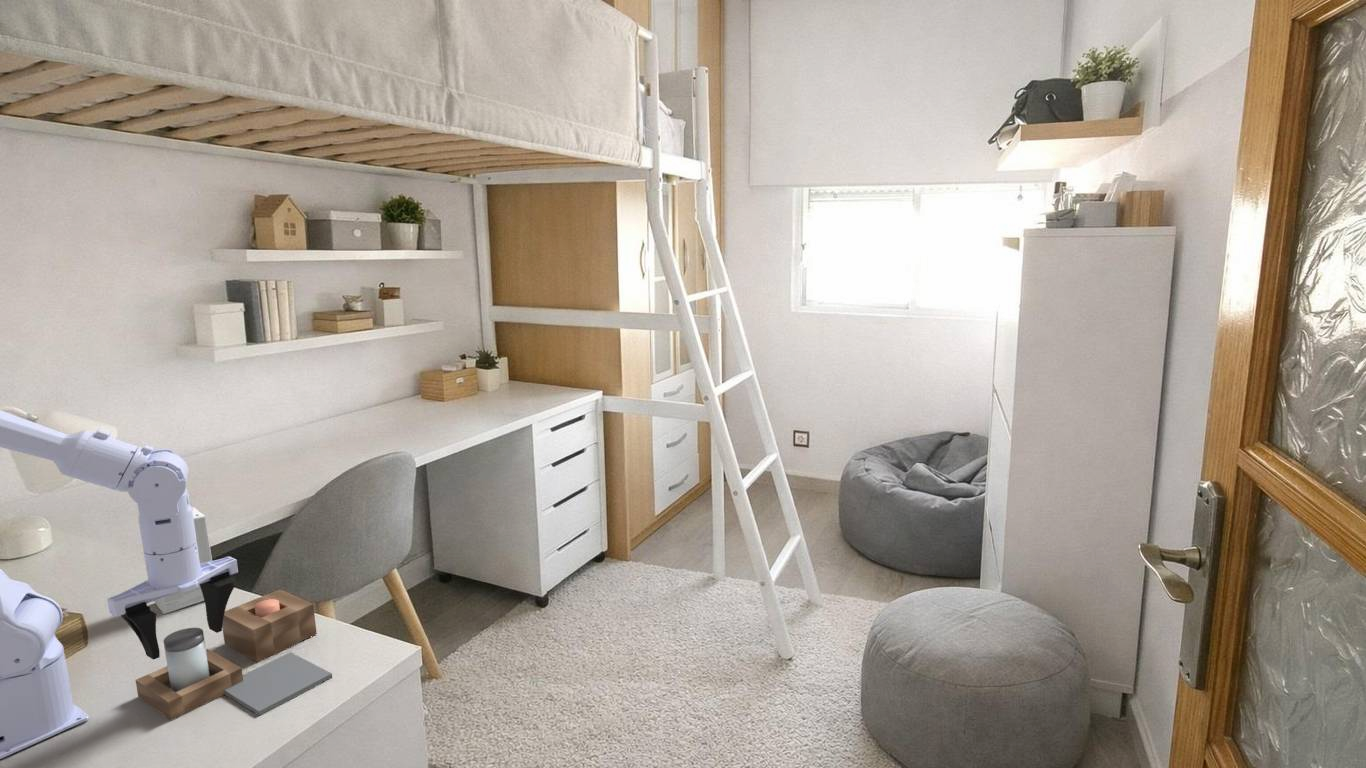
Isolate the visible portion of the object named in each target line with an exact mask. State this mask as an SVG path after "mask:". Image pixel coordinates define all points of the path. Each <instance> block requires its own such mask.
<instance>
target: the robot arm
mask: <svg viewBox="0 0 1366 768" xmlns="http://www.w3.org/2000/svg"><path fill="white" fill-rule="evenodd" d="M111 433H112V432H111V431H108V430H105V429H103V428H99V429H98V430H97V431H96V432H95V431H92V430H89V429H84V430H81V431H78V432H75V433H69V434H67V433H64V432H61V431H59V430H56V429H53V428H50V427H47V426H44V425H42V424H39V423H36V422H33V421H31V420H28V419H25V418H22V417H20V416H18V415H17V416H16V415H14V414H13V413H12V414H11V413H9V412H6V411H3V410H1V409H0V448H2V449H7V450H10V451H15V452H19V453H23V454H27V455H30V456H34V457H38V458H40V459H41V458H42V459H44V460H45V459H46V460H50V461H53V463H54V464H55V466H56V468H57V469H58V470H59V472H60V474H61V475H63V476H67V477H70V478H74V479H76V480H80V481H83V482H87V483H90V484H94V485H97V486H100V487H103V488H104V487H105V488H108V489H111V490H114V491H118V492H122V493H123V492H125V493H126V492H127V493H128V495H129V497H130V498H131V500H132V501H134V502H135V503H136V504H137V510H138V519H137V520H138V526H139V531H140V537H141V544H142V550H143V557H144V562H145V570H146V576H147V579H146V580H145V581H143V582H141V583H139V584H137V585H135V586H133V587H131V588H129V589H127V590H125V591H122V592H121V593H118V594H116V595H113V596H110V597H108V598H107V600H106V601H107V605H108V610H109V613H110V614H111V615H112V616H114V617H116V618H118V617H121V618H123V620H124V621H125V622H126V623H127V625H128V626H129V627H130V628H131V629H132V631H133V632H134V633H135V634H136V635H135V636H137V638H138V640H139V641H140V644H141V645H142V647H143V649H144V652H145V655H146V656H147V657H148V658H150V659H151V660H156V659H159V658H160V646H159V641H158V637H157V629H156V628H157V613H156V612H154V611H152V610H151V607H150V606H148V604H150V603H153V602H154V601H155V600H158V599H161V598H164V597H166V596H169V595H172V594H174V593H177V592H182V593H183V592H187V591H190V590H193V589H195V588H197V587H198V585H200V587H201V591H202V594H203V597H204V601H203V602H204V604H205V611H206V612H205V613H206V621H207V626H208V628H209V630H211V631H212V632H214V633H216V634H217V633H220V632H223V629H222V625H223V618H224V613H225V611H226V609H227V608H226V607H227V605H228V601H229V599H230V597H231V594H232V592H233V590H234V589H235V587H236V582H235V578H234V577H231V575H235V574H238V573H239V568H238V560H237V559H236V558H234V557H232V556H225V557H223V558H219V559H215V560H212V561H210V562H206V563H202V564H200V561H199V554H198V547H197V541H196V540H197V539H196V533H195V526H194V519H193V512H192V506H191V504H190V502H191V501H190V500H191V498H190V497H191V496H190V494H189V491H188V487H187V482H188V479H189V473H190V470H189V464H188V463H187V461H186V460H185V459H184V458H183V456H182V455H180V454H178V453H177V452H174V451H172V450H171V449H170V448H159V449H155V448H154V447H153V446H151V445H147V444H146V445H144V446H143V447H141V446H138V445H134V444H133V443H129V442H126V441H124V440H123V441H122V440H120V439H117V438H114V437H110V435H111ZM63 614H64V613H63V610H62V608H61V606H60V605H59V603H58V602H57V601H55V600H54V599H53V598H51V597H48V596H46V595H43V594H40V593H38V592H37V591H35V590H34V589H33V588H32V587H31V586H30V585H29V584H28V583H27V582H22V581H20V580H19V581H18V580H14V579H11V578H10V577H9V576H8V575H7V574H6V573H5V572H4V570H3V569H1V568H0V760H1V759H4V758H6V757H8V756H10V755H13V754H14V753H16V752H20V751H22V750H24V749H26V748H28V747H30V746H32V745H33V746H34V744H37V743H39V742H41V741H44V740H46V739H48V738H50V737H53V736H55V735H56V734H57V735H58V734H60V733H61V732H64V731H66V730H68V729H70V728H73V727H75V726H78V725H80V724H82V723H84V722H86V721H88V720H89V717H90V716H89V714H88V713H86V712H85V711H84V710H83V709H81V708H80V707H79V706H77V705H76V704H75V703H74V700H73V694H72V688H71V683H70V677H69V671H68V666H67V661H66V655H65V650H64V645H63V644H62V643H61V641H60V640H58V638H57V637H56V632H57V631H58V630H59V629H60V628H61V627H60V626H61V625H62V623H63V619H64V618H63V617H64V615H63Z"/></svg>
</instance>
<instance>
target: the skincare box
mask: <svg viewBox="0 0 1366 768" xmlns="http://www.w3.org/2000/svg"><path fill="white" fill-rule="evenodd" d="M191 508H192V512H193V519H194V526H195V533H196V539H197V540H196V541H197V547H198V554H199V561H200V564H202V563H206V562H210V561H213V557H212V552H211V545H210V539H209V533H208V527H207V521H206V519H207V518H206V515H204V514H203V513H202V512H200V511H199V510H198V509H197V508H196V507H194V506H193V507H192V506H191ZM153 602H154V603H155V605H156V606H157V608H158V609H159V610H160V611H161V612H162V614H163V615H165V614H166V615H167V614H169V613H172V612H175V611H178V610H180V609H183V608H186V607H190V606H193V605H195V604H199V603H201V602H205V601H204V597H203V594H202V591H201V587H200V585H198V587H197V588H195V589H193V590H190V591H187V592H183V593H182V592H177V593H174V594H172V595H169V596H166V597H164V598H161V599H158V600H155V601H153Z"/></svg>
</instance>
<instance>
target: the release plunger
mask: <svg viewBox="0 0 1366 768" xmlns="http://www.w3.org/2000/svg"><path fill="white" fill-rule="evenodd" d="M279 610H280V606H279V601H278V600H276V599H269V600H264V601H261V602H259V603H257V604H256V605H255V614H256V615H257V616H259V617H261V618H262V617H264V616H267V615H269V614H272V613H274V612H276V611H279Z"/></svg>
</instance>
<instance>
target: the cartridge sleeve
mask: <svg viewBox="0 0 1366 768" xmlns="http://www.w3.org/2000/svg"><path fill="white" fill-rule="evenodd" d="M206 654H207V661H208V668H209V675H210V677H208V678H206V679H204V680H201V681H199V682H197V683H195V684H193V685H191V686H188V687H186V688H184V689H182V690H180V691H177V692H174V691H173V690H171V686H170V680H169V673H168V667H167V665H166V666H165V667H163V668H159V669H158V670H155V671H152V672H150V673H148V674H145V675H143V676H142V677H141V676H140V677H139V678H137V679H135V686H136V691H137V692H136V693H137V697H138V698H139V699H141V700H142V701H143V702H145V703H146V704H148V705H149V706H151V707H152V708H153V709H154V710H156V711H157V712H159V713H160V714H162V715H163V716H165V717H166V718H168V719H169V720H170V721H173V720H174V719H176V718H179V717H180V716H183V715H184V714H186V713H188V712H191V711H193V710H195V709H197V708H199V707H202V706H203V705H205V704H207V703H209V702H212V701H213V700H215V699H218V698H219V697H221V696H224V695H225V693H224V690H225V689H227V688H229V687H231V686H234V685H236V684H238V683H240V682H242V681H243V675H244V674H243V669H242V667H241V666H239V665H237V664H235V663H234V662H231V661H230V660H229V659H227V658H224V657H223V656H222V655H219V654H217V653H216V652H214V651H212V650H211V649H208V648H206Z"/></svg>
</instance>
